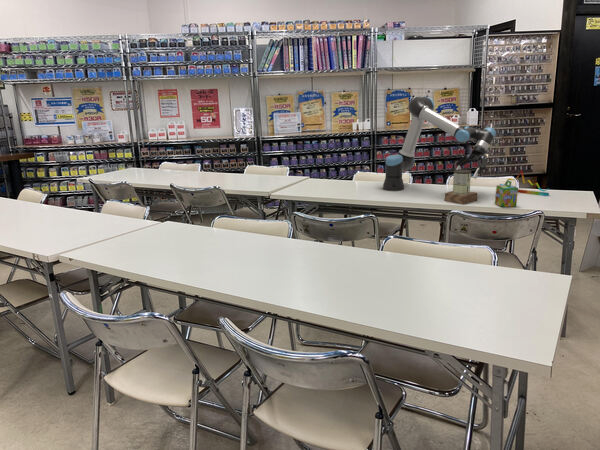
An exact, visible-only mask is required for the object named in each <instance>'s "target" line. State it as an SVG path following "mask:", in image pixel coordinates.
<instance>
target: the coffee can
mask: <svg viewBox="0 0 600 450" xmlns="http://www.w3.org/2000/svg"><path fill="white" fill-rule="evenodd" d="M471 175H472V169H466V168H465V169H463V168H461V169H458V170H455V169H454V170H453V180H452V191H453V193H454V194H458V195H466V194H469V193H470V192H471V191H470V189H471V178H472V177H471Z"/></svg>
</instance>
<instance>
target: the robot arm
mask: <svg viewBox="0 0 600 450" xmlns="http://www.w3.org/2000/svg"><path fill="white" fill-rule="evenodd" d="M407 107H408V108H407V109H408V111H409V113H410V116H411V117H412V118H411V121H410V125H409V127H408V130H407V133H406V136H405V140H404V141H403V145H402V148H401V149H400V150H399V151H398V153H397V154H393V155H392V154H391V155H388V156H386V158H385V176H384V177H385V179H384V181H383V184H382V189H383V190H386V191H391V192H392V191H393V192H395V191H397V192H398V191H403V190H405V183H404V180H403V173H404V172H408V171H409V170H411V169H412V168H413V167H414V166H415V162H416V160H415V157H416V155H415V150H416V147H417V144H418V141H419V138H420V135H421V134H422V133H421V132H422V130H423V127H424V124H425V122H427V123H429V124H431V125H432V126H435V127H436V128H438V129H440V130H442V131H444V132H445V133H446V134H449V135H450V136H452V137H453V138H455V139H456V141H457V142H459V143H465V142H468V141H476V144H475V145H474V146H473V149H472V151H471V153H470V154H469V153H465V154H464V155H463V156H462V157H461V158H459V160H458V161H456V162H455V165H456V167H455V169H454V170H458V169H462V167H463V166H465V165H467V164H468V163H477V165H478V167H477V169H476V171H475V172H474V174H473V176H472V177H473V179H475V180H476V179H477V178H478V176H479V175H480V174H481V173H482V171H486V170H487V160H488V157H487V156H486V152H487V150H488V149H489V147H490V145H491V144H492V142H493V140H494V138H495V137H496V135H497V131H496V130H495V128H493V127H485V128H484V129H480V128H475V127H472V126H467V125H466V126H464V127H463V126H461V125H459V124H457V123H456V122H454V121H452V120H450V119H449V118H447V117H445V116H443V115H442V114H440V113H438V112H437V111H435V102H434V101H433V99H432V98H431V97H428V96H422V97H414V98H412V99H411V100H410V101H409V102H408V106H407ZM481 160H482V162H481ZM481 163H482V164H481Z"/></svg>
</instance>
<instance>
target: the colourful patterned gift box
mask: <svg viewBox="0 0 600 450" xmlns="http://www.w3.org/2000/svg"><path fill="white" fill-rule="evenodd" d="M506 181H507V183H506V182H505V183H506V185H504V184H503V185H500V184H497V185H496V188H495V197H494V198H495V199H494V204H495V205H497V206H499V207H500V208H510V207H511V208H512V207H513V208H516V207H517V203H518V194H519V193H518V189H519V187H517V186H515V185H512V180H508V179H507V180H506Z"/></svg>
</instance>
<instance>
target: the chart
mask: <svg viewBox="0 0 600 450" xmlns="http://www.w3.org/2000/svg"><path fill="white" fill-rule="evenodd" d="M520 175H521V178H522V184H526V183H527V182H528V183H529V184H530V186H537V188H538V190H539V191H538V190H537V191H536V190H527V189H520V188H518V194H525V195H526V194H527V195H535V196H544V197H548V196H550V192H546V191H549V190H550V188H547V189H542V188H541V187H540V185H539V183H538V182H535V183H532V182H531V180H530V179H528V180H525V176H524V172H523V170H520V172H519V174H518V175H517V177H516V178H514V179H513V178H507V180H508V181H516V180H518V179H519V177H520ZM507 180H506V182H505V183H503V184H502V183H500V184H499V185H506V183H507Z"/></svg>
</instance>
